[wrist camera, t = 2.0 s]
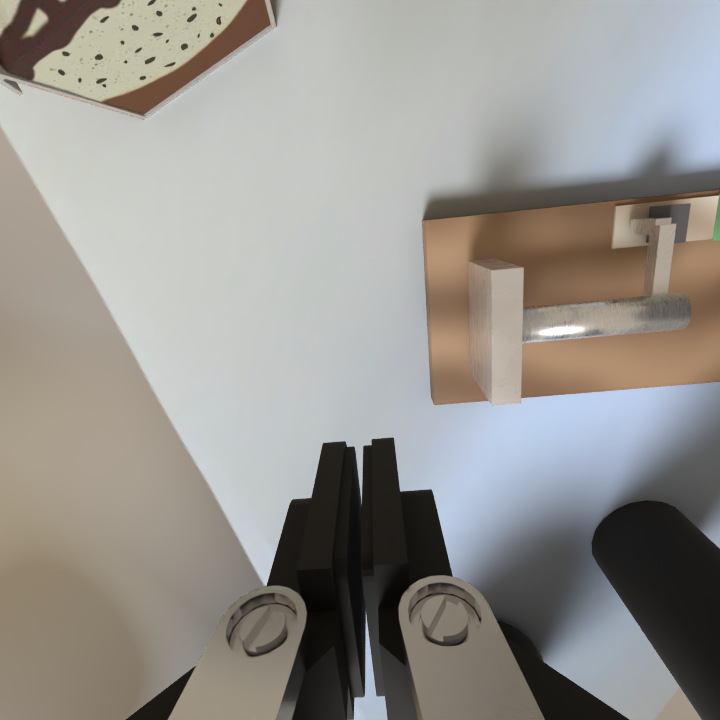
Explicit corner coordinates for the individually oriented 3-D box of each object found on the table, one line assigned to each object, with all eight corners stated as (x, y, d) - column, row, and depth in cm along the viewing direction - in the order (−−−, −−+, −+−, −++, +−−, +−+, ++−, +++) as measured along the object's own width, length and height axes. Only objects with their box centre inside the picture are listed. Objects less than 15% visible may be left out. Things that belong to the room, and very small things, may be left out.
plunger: (466, 236, 24) (491, 239, 19) (655, 217, 24) (731, 215, 19) (469, 371, 27) (492, 405, 22) (639, 356, 27) (703, 388, 21)
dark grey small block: (649, 206, 24) (671, 205, 22) (667, 204, 24) (690, 203, 22) (645, 242, 25) (666, 244, 23) (663, 240, 24) (685, 242, 23)
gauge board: (422, 220, 26) (449, 219, 17) (823, 178, 25) (1078, 154, 16) (431, 396, 30) (457, 471, 21) (781, 367, 29) (969, 433, 20)
